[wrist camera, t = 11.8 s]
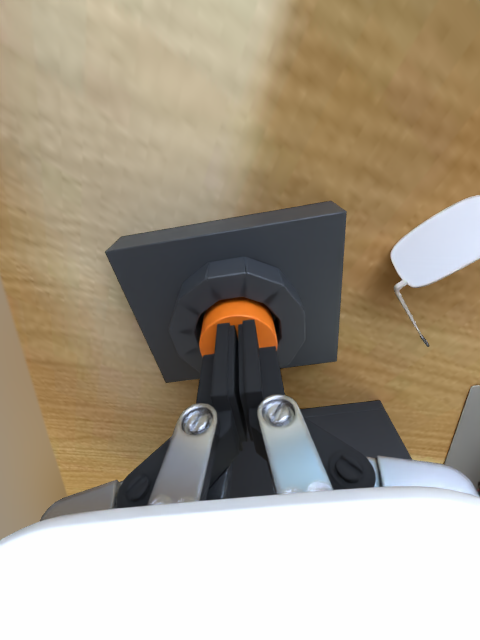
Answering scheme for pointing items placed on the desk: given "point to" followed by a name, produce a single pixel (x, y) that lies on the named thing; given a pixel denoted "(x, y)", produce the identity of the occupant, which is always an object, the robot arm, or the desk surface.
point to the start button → (237, 322)
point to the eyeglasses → (438, 248)
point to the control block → (237, 282)
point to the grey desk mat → (468, 440)
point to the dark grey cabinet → (339, 420)
